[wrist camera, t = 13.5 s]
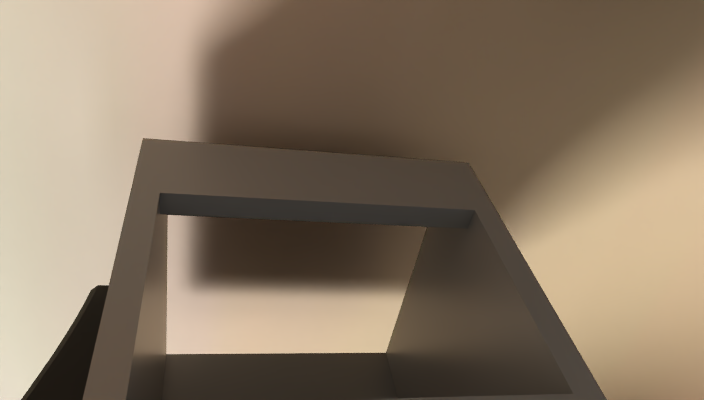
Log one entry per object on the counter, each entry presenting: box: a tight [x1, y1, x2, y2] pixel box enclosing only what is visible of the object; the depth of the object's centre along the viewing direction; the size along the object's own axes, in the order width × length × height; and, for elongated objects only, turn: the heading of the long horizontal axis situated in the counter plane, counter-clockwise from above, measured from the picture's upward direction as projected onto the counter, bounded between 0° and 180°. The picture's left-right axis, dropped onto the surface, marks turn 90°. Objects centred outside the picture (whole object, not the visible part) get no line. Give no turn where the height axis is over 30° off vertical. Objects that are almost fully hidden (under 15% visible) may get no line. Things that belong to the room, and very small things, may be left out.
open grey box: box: [83, 138, 607, 400], centre depth 10 cm, size 6×6×6 cm
